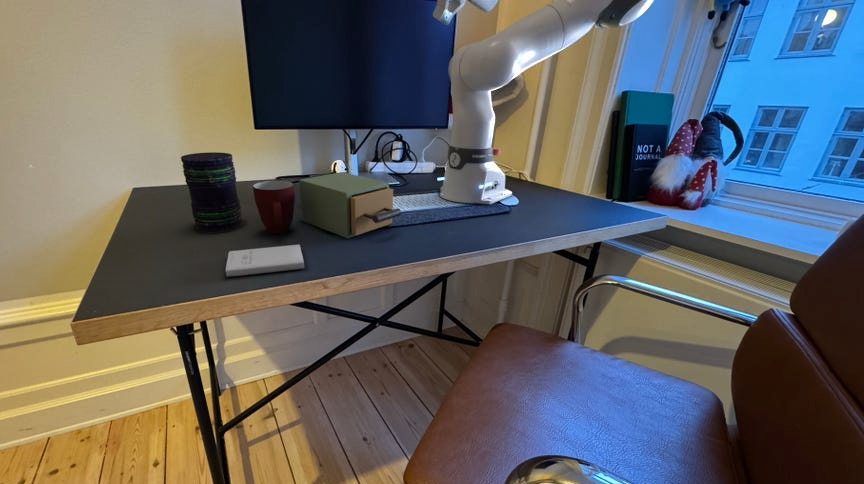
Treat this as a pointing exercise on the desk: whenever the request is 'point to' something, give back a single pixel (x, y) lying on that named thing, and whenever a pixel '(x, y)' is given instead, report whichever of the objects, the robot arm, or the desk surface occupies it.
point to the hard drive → (264, 260)
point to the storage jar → (212, 191)
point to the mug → (275, 204)
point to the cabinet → (333, 199)
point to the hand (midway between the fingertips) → (440, 21)
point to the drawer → (371, 210)
